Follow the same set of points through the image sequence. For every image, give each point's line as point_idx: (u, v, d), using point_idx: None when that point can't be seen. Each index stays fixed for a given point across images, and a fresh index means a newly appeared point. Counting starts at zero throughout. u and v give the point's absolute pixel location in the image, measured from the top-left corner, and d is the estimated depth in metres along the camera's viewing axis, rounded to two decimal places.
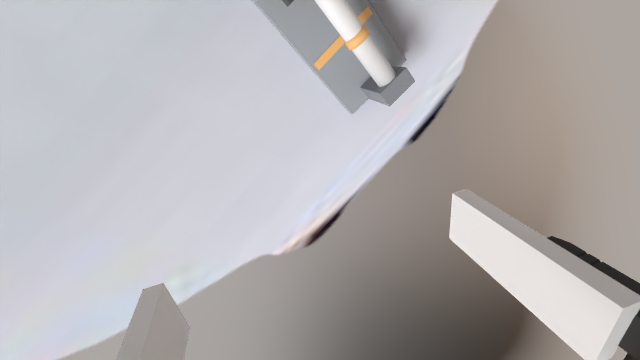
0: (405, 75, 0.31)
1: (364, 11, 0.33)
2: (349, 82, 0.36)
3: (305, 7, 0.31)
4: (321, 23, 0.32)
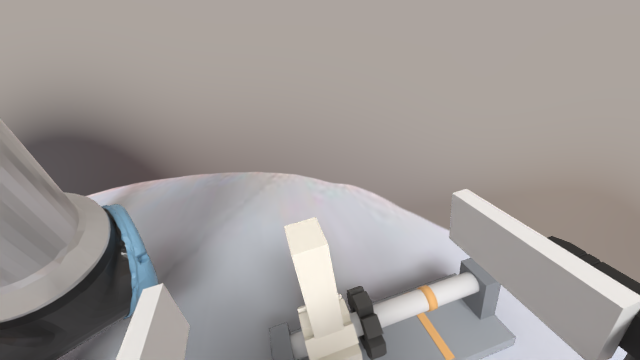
0: (468, 262, 0.34)
1: None
2: (473, 329, 0.32)
3: (391, 348, 0.32)
4: (407, 337, 0.33)
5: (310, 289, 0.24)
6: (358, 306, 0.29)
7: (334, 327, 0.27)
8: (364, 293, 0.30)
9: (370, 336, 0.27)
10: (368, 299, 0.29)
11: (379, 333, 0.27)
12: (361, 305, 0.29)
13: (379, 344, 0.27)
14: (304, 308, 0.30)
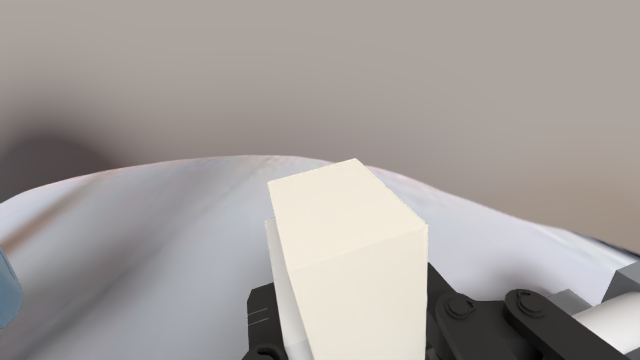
0: (634, 273, 0.17)
1: None
2: None
3: None
4: None
5: None
6: None
7: None
8: None
9: None
10: None
11: None
12: None
13: None
14: None
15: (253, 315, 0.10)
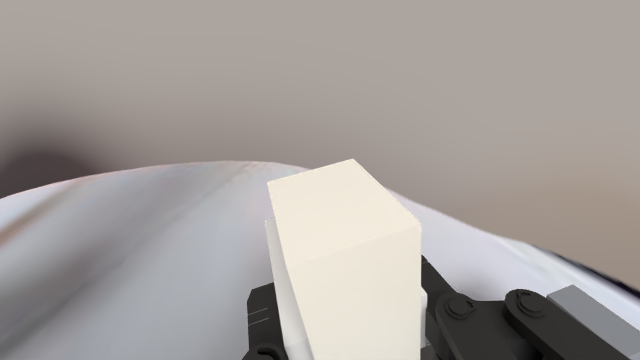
0: (564, 298, 0.17)
1: None
2: None
3: None
4: None
5: None
6: None
7: None
8: (430, 350, 0.14)
9: None
10: None
11: None
12: None
13: None
14: None
15: (253, 315, 0.10)
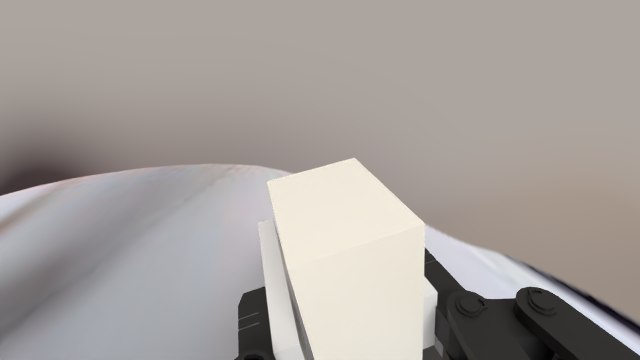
0: None
1: None
2: None
3: None
4: None
5: None
6: None
7: None
8: (431, 351, 0.13)
9: None
10: None
11: None
12: None
13: None
14: None
15: (244, 320, 0.09)
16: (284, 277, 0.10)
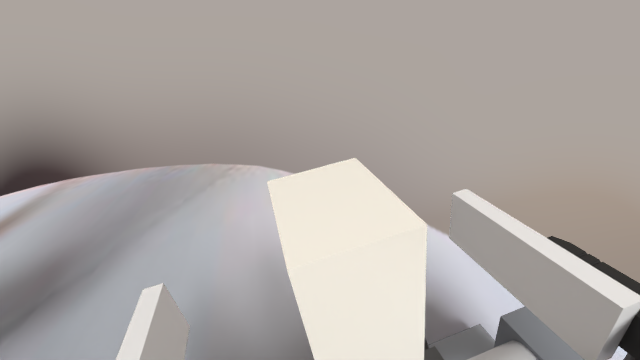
0: (517, 321, 0.16)
1: None
2: None
3: None
4: None
5: None
6: None
7: None
8: (432, 352, 0.13)
9: None
10: None
11: None
12: None
13: None
14: None
15: None
16: None
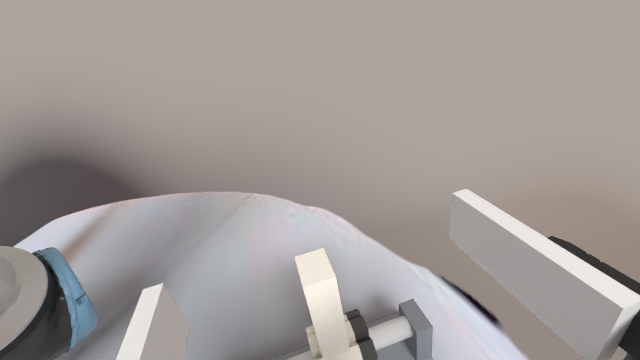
0: (405, 306, 0.34)
1: None
2: None
3: None
4: None
5: (319, 316, 0.26)
6: (354, 331, 0.30)
7: (341, 349, 0.29)
8: (360, 318, 0.32)
9: None
10: (364, 324, 0.31)
11: (374, 357, 0.29)
12: (357, 330, 0.30)
13: None
14: (312, 329, 0.32)
15: None
16: None
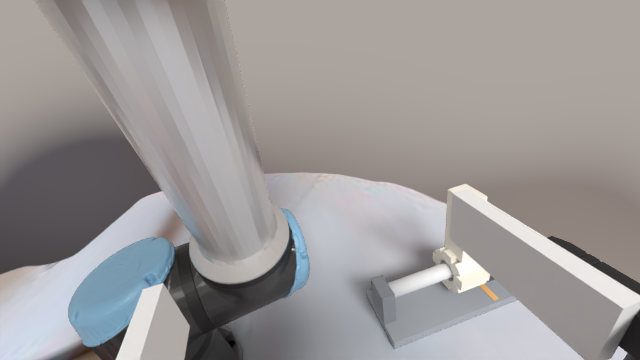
0: None
1: None
2: None
3: (452, 294, 0.46)
4: None
5: None
6: None
7: None
8: None
9: None
10: None
11: None
12: None
13: None
14: (444, 248, 0.45)
15: None
16: None
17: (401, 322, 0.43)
